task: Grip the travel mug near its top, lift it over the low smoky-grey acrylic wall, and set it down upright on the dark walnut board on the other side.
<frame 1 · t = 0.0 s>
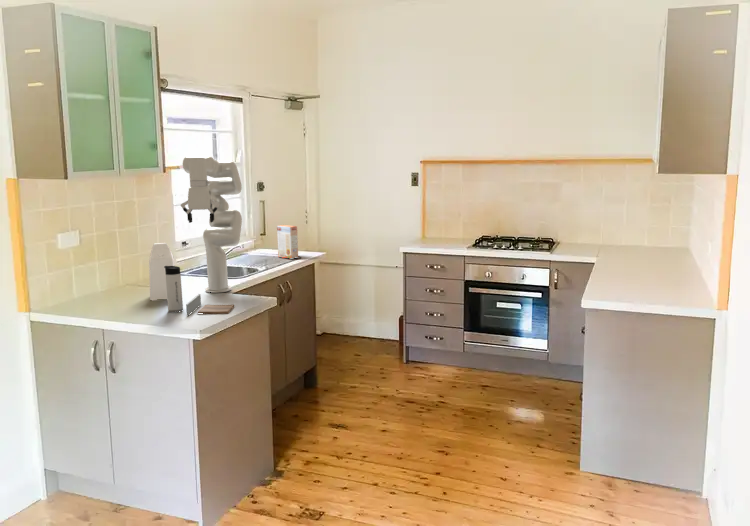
hand: (201, 222, 304), 37 cm above the worktop, tool pointing down, fingers open, 9 cm apart
travel mug: (175, 311, 293), on the worktop
milk: (164, 297, 322), on the worktop
acrylic wall: (194, 310, 294), on the worktop
cracker box: (288, 258, 428), on the worktop
walnut board: (216, 310, 293), on the worktop
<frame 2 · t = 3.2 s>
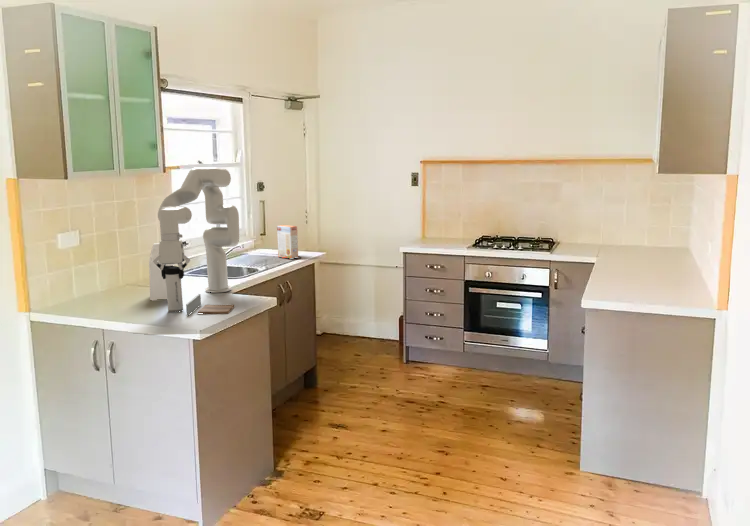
hand: (173, 278, 290), 15 cm above the worktop, tool pointing down, fingers closed on travel mug, 6 cm apart
travel mug: (175, 311, 293), on the worktop, touching gripper
everything else where it was.
when the fingers open (17 cm above the worktop, at t = 9.9 s): travel mug drops 1 cm, resting on walnut board.
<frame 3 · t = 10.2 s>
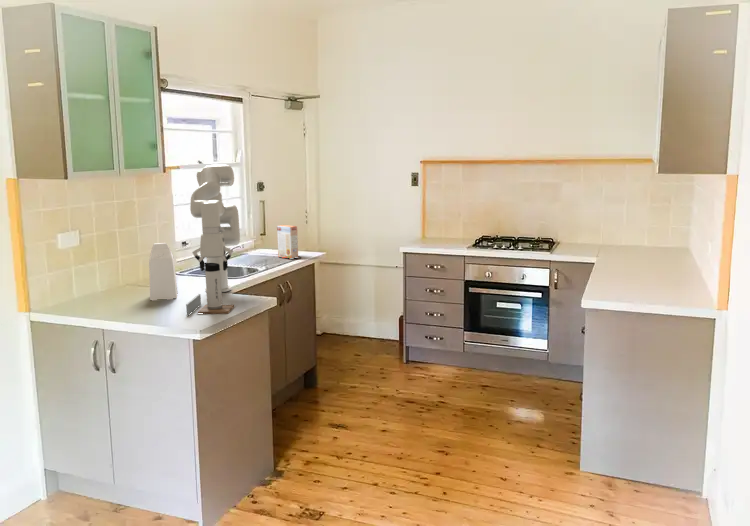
hand: (214, 270, 290), 18 cm above the worktop, tool pointing down, fingers open, 9 cm apart
travel mug: (214, 308, 293), point 1 cm above the worktop, touching walnut board
everything else where it was.
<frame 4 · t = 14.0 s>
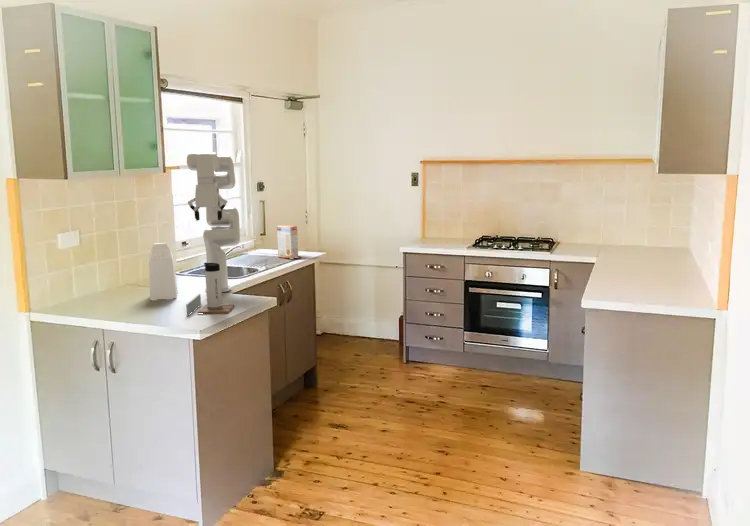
hand: (208, 220, 298), 38 cm above the worktop, tool pointing down, fingers open, 9 cm apart
nothing on the worktop moved.
at the end: travel mug 0.8 cm off-centre on the walnut board, point 0.8 cm above the walnut board's base; travel mug tilted 0°; the gripper is holding nothing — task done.
